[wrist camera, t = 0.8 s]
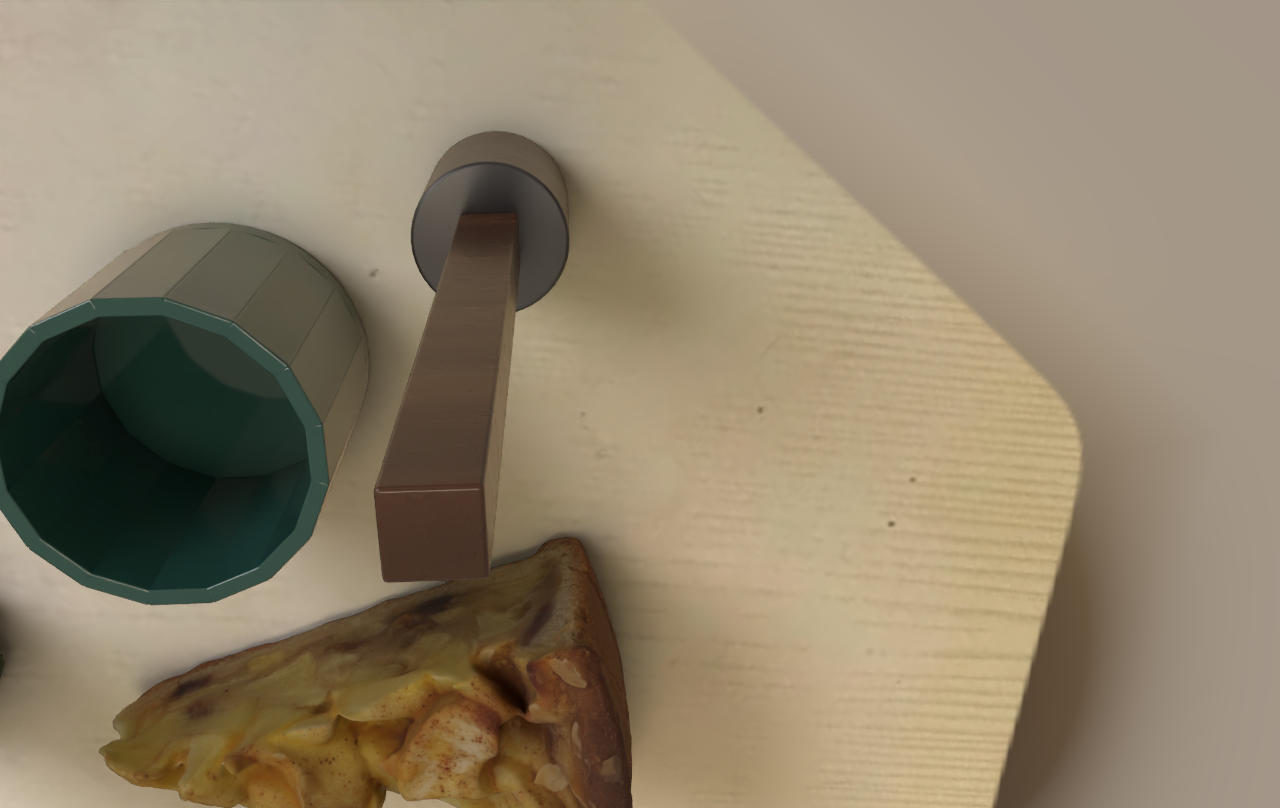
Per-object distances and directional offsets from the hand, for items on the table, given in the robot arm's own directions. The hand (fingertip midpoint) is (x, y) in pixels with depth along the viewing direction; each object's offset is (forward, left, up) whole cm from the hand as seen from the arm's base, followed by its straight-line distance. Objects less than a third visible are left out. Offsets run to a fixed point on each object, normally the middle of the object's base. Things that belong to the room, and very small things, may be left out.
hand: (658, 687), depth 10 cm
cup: (+7, -12, -29) cm, 32 cm away
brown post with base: (+2, -3, -29) cm, 30 cm away
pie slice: (+20, -8, -30) cm, 36 cm away
